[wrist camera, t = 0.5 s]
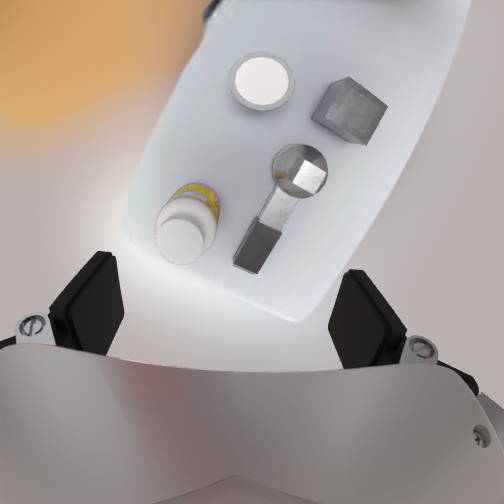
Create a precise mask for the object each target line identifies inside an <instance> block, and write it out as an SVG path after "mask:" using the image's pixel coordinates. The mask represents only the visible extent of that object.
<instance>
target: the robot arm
mask: <svg viewBox="0 0 504 504" xmlns="http://www.w3.org/2000/svg"><path fill="white" fill-rule="evenodd" d="M49 310H50V313H49V314H48V316H47V315H45V314H43V313H40V312H35V313H31V314H28V315H26V316H24V317H23V318H21V320H19V322H18V323H17V325H16V330H15V331H16V335H15V336H13V337H11V338H8V339H5V340H2V341H0V504H504V409H502V408H501V407H500V406H499V405H498V404H496V403H495V402H494V401H493V400H491V399H490V398H489V397H488V396H486V395H485V394H484V393H483V392H481V394H480V395H479V394H478V393H479V387H478V385H477V383H476V381H475V379H474V378H473V377H472V376H470V375H468V374H466V373H464V372H462V371H460V370H458V369H456V368H453V367H451V366H449V365H447V364H445V363H443V362H441V361H439V360H438V350H437V348H436V346H435V345H434V344H433V343H432V342H431V341H430V340H428V339H426V338H425V337H422V336H417V335H414V336H410V337H409V338H407V337H406V336H405V334H406V332H407V329H406V327H405V326H404V325H403V323H402V322H401V320H400V319H399V317H398V316H397V315H396V313H395V312H394V310H393V309H392V308H391V306H390V305H389V304H388V302H387V301H386V300H385V298H384V297H383V295H382V294H381V293H380V291H379V290H378V289H377V287H376V286H375V285H374V284H373V282H372V281H371V280H370V278H369V277H368V276H367V275H366V273H365V272H364V271H363V270H353V269H350V270H349V271H348V273H347V272H346V273H345V274H344V276H343V279H342V282H341V286H340V289H339V292H338V295H337V299H336V302H335V305H334V308H333V311H332V314H331V317H330V320H329V323H328V330H329V333H330V335H331V338H332V341H333V343H334V346H335V348H336V350H337V353H338V356H339V358H340V361H341V363H342V366H343V368H344V369H340V370H324V371H297V372H251V371H227V370H210V369H197V368H186V367H176V366H167V365H159V364H152V363H145V362H138V361H132V360H126V359H120V358H114V357H109V356H106V354H107V352H108V350H109V348H110V345H111V343H112V341H113V339H114V337H115V334H116V332H117V330H118V328H119V326H120V324H121V321H122V319H123V317H124V307H123V301H122V296H121V290H120V283H119V277H118V269H117V261H116V257H115V256H112V253H111V252H104V251H97V252H96V253H95V254H94V256H93V257H92V258H91V259H90V260H89V261H88V262H87V263H86V264H85V265H84V267H83V268H82V269H81V270H80V271H79V272H78V274H77V275H76V276H75V277H74V278H73V279H72V280H71V282H70V283H69V284H68V285H67V286H66V288H65V289H64V290H63V291H62V292H61V294H60V295H59V296H58V297H57V298H56V300H55V301H54V302H53V304H52V305H51V306H50V307H49Z"/></svg>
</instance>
